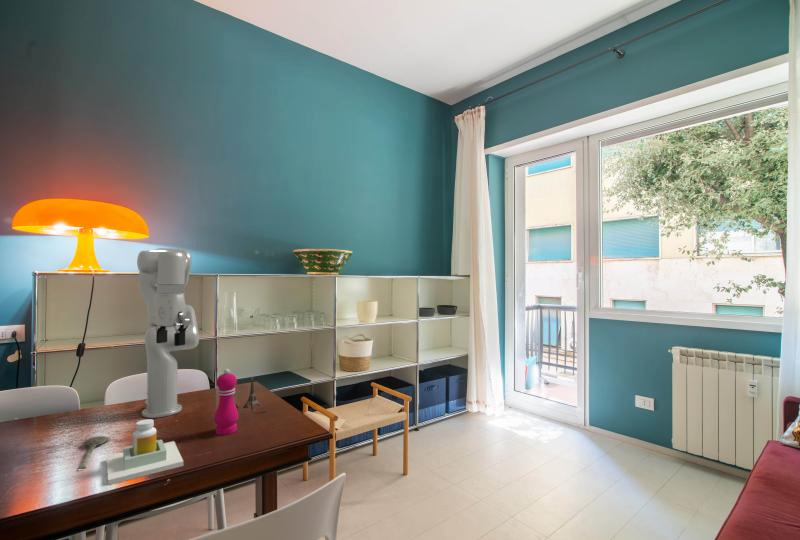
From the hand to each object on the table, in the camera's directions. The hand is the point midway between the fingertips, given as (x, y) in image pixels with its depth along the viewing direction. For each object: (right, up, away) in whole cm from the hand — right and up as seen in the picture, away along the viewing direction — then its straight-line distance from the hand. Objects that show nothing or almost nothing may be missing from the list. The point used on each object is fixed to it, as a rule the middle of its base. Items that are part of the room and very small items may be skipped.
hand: (170, 344), depth 127 cm
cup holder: (+5, -28, -20) cm, 35 cm away
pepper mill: (+17, -29, +1) cm, 33 cm away
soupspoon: (-14, -29, -15) cm, 35 cm away
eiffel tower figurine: (+16, -29, +24) cm, 41 cm away
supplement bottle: (+5, -27, -20) cm, 34 cm away
